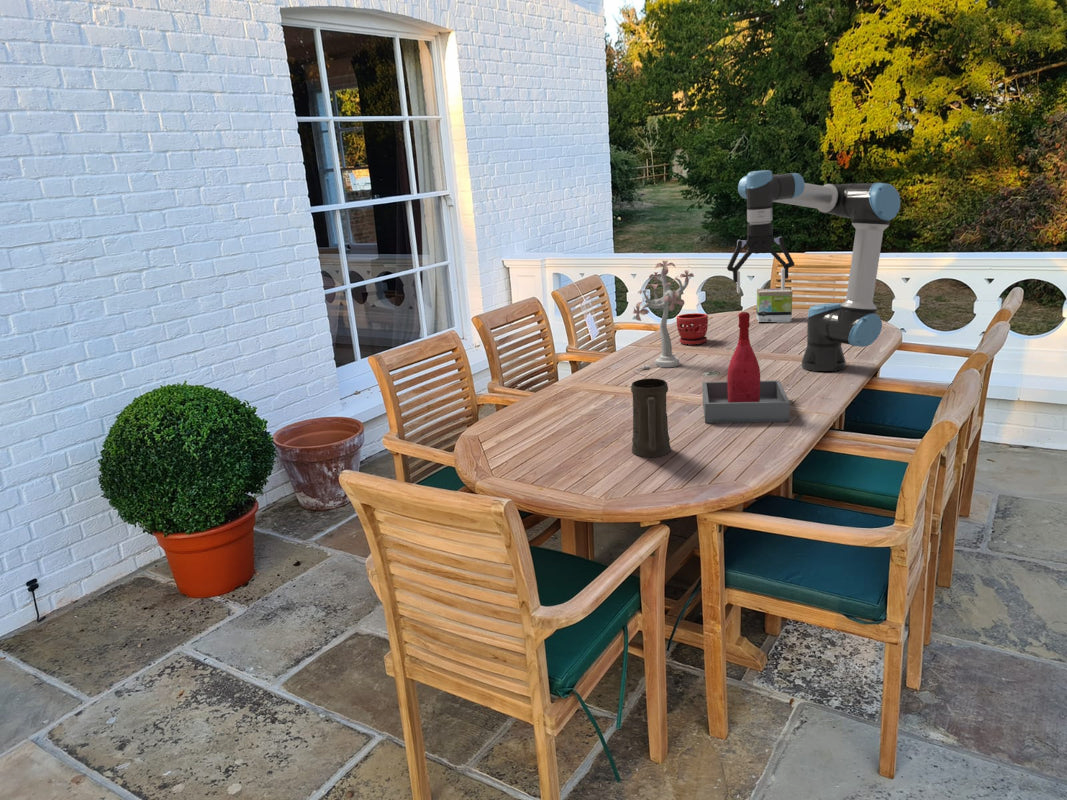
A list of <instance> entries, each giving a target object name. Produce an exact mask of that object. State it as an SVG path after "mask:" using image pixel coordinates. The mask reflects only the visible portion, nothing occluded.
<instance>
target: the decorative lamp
mask: <svg viewBox="0 0 1067 800" xmlns="http://www.w3.org/2000/svg"><path fill="white" fill-rule="evenodd" d="M668 261H669V260H668V259H667V260H661V262H657V263H656V264H655V267H654V269H658V268H661V271H660V273H659V274H658V271H656V272H655V271H653V273H654V274H653V273H652V274H650V275H649V276H648V277H649V278H648V280H650V279H652V278H653V280H654V282H655V283H656V284H654V283H648V284H647V285H645V287H644V288H645V289H644V290H639V291H637V293H638V294H640V295H642V294H643V295H644V297H643V298H642V301H640V302H637V303H636V304H635V307H633V311H632V314H636V316H635V319H636V321H639V322H642V319H641V316H640V315H642V316H644V315H645V316H646V315H647V314H649V313H650V310H648V309H647V308H649V309H655V310H661V309H662V310H663V313H662V317H661V321H660V324H659V331H660V333H659V335H660V340H661V341H660V342H661V343H660V344H661V355H659V357H657V358H656V359H655V361H654V364H651V365H647V364H645V365H642V366H641V367H639V368H635V369H632V371H633V372H635V373H638V374H641V375H643V376H645V377H647V374H643V373H641V372H639V370H646V369H650V368H651V367H655V366H656V367H658V368H673V367H674V368H675V367H678V366H679V365H680V358H678V357H676V356H675V355H674V354H673V348H672V347H673V346H672V339H671V337H670V333H669V330H668V328H667V326H668V325H667V322H668V318H669V317H668V315H669V311H671V312H672V311H674V310H675V308H676V306H675V305H676V304H678V305H680V306H684V305H685V300H684V299H682V298H680V299H678V298H679V296H680V295H681V294H683V292H684V291H685V289H686V288H687V287H688V285H689V283H690V282H689V281H690V277H692V278H693V277H695V275H694V273H689V272H690V271H689V269H688V270H686V269H685V270H684V273H685V274H684V273H681V274H680V275H679V276H678V275H677V276H675V277H674V278H673V279H672V282H671V281H669V282H668V279H667V275H668V273H669V268H668V267H671V266H672V267H674V268H676V265H675V263H673V262H669V263H668ZM680 278H681V279H682V278H684V282H683V283H682V281H681V279H680ZM659 281H660V282H659ZM674 281H677V282H678V284H679V287H678V289H677V290H674V291H673V290H672V289H671V287H670V286H671V285H672V283H674ZM657 282H659V283H657ZM659 285H660V286H662V290H663V291H662V292H663V294H662V297H660V298H659V295H658V293H657V288H658V286H659ZM649 286H651V287H652V288H653V295H654V298H653V299H650V296H649V294H648V293H649V291H648V290H647V289H648V287H649ZM646 293H647V294H646ZM644 300H646V302H645V303H644V304H643V305H642V302H644ZM669 303H670V304H669ZM641 305H642V307H641ZM640 308H641V309H640Z"/></svg>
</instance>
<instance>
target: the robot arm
mask: <svg viewBox="0 0 1067 800" xmlns="http://www.w3.org/2000/svg"><path fill="white" fill-rule="evenodd" d="M737 192H738V194H739V196H740V197H741V198H742V199H746V221H747V223H748V224H747V225H746V226H747V227H746V228H747V231H746V232H747V234H746V235H747V238H746V240H743V239H742V240H741V239H737V241H736V248H735V250H734V251H733V254H732V256H731V258H730V260H729V262H728V265H727V267H726V269H727V271H729V272H732V280H733V283H736V293H737V294H740V293H741V272H740V271H739V270H740V269H741V267H742V266H743V265H744V264H745V262H747V261H748V258H750V256H751V255H752V254H753V253H754V254H755V255H756V254H766V253H767V252H769V253H770V254H771V255H772V256H773V257H774V258H775V259H776V261H778V263H779V264H780V265H781V266H782V267H781V269H780V288H781V289H782V290H785V288H786V280H787V279H788V278H789V268H791V267H794V266H795V262H794V259H793V258H792V256H791V255H790V253H789V250H788V249H787V246H785V241H784V238H783V236H780V235H779V236H778V237H774V236H773V234H774V231H773V230H774V229H773V227H774V225H773V222H772V221H773V204H774V203H780V204H786V205H794V206H798V207H799V206H800V207H805V208H811V209H817V210H818V211H819V212H821V213H825V214H830V215H835V216H837V217H841V218H845V219H846V218H847V219H852V220H851V226H853V228H854V229H855V234H854V240H853V246H852V253H851V254H852V255H851V262H850V263H851V264H850V269H849V276H848V283H847V291H846V295H845V296H846V297H845V301H843V302H842V303H841V302H829V303H822V304H816V305H812V306H810V307H809V309H808V311H807V312H808V313H807V314H808V315H807V327H806V329H807V330H806V331H807V333H806V334H807V337H806V339H807V340H806V341H807V343H806V345H807V346H806V349H805V350H804V354H803V356H802V359H801V368H802V367H803V368H804V369H803V368H802V369H803V370H806V369H807V370H806V371H810V370H812V371H811V372H816V371H834V372H837V371H836V370H840V371H842V370H841V369H843V368H845V367H846V365H847V361H846V357H845V355H844V352H843V348H842V344H845V345H850V346H851V347H861V348H862V347H863V348H865V347H869V346H870V345H872V344H873V343H875V341H877V339H878V338H879V336H880V335H881V332H882V329H883V321H882V320H881V319H882V318H881V316H879V315H878V314H877V310H878V309H877V308H878V307H877V306H876V305H875V304H874V296H875V288H876V283H877V275H878V270H879V262H880V255H881V249H882V244H883V242H882V241H883V235H884V231H885V230H886V229H887V228H888V227H890V222H891V220H893V219H894V218H896V217H897V214H899V211H900V208H901V197H900V193H899V192H898V190H897V188H896V187H895V186H894V185H892V184H889V183H885V182H884V183H883V182H866V183H863V182H862V183H859V182H858V183H857V182H856V183H844V184H833V183H826V184H824V185H819V184H814V183H813V184H812V183H808V182H807V183H806V182H805V179H804V178H803V176H802V174H800V173H797V172H793V173H792V172H790V173H789V172H788V173H785V174H783V173H782V174H781V173H780V174H773V171H772V170H770V169H767V170H764V169H763V170H755V171H754V170H753V171H750V172H748V173H747V174H746V175H744V176H743V177H742V178H740V180H739V182H738V186H737ZM774 243H776V244H777V245H778V246H779V248H780V249H781V251H782V253H783V254H784V257H785V258H786V260H787V263H786V261H784V259H783V258H782V257H780V255H779V254H778V253H777V252H776V251H775V249H773V248H772V246H773V245H774ZM745 245H746V246H747V247H748V249H747V250H746V252H745V253H744V254H743V255H742V257H741V258H740V259H739V260H738V262H737V263H736V260H737V258H738V256H739V254H740V252H741V249H742V248H744V246H745ZM735 263H736V264H735ZM846 368H847V367H846ZM846 368H845V369H846ZM843 370H844V369H843Z"/></svg>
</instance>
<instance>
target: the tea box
mask: <svg viewBox="0 0 1067 800" xmlns="http://www.w3.org/2000/svg"><path fill="white" fill-rule="evenodd" d="M792 315H793V290H792V289H791V288H790V287H789V288H788V287H785V290H782V289H781V287H780V288H779V287H778V288H757V289H756V314H755V318H757V319H756V321H757V320H758V321H757V322H777V323H788V322H790V321H791V322H792V320H793V319H792Z"/></svg>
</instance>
